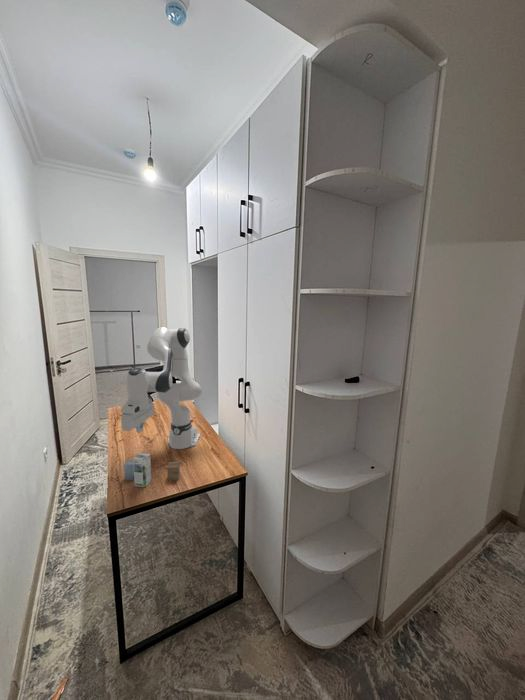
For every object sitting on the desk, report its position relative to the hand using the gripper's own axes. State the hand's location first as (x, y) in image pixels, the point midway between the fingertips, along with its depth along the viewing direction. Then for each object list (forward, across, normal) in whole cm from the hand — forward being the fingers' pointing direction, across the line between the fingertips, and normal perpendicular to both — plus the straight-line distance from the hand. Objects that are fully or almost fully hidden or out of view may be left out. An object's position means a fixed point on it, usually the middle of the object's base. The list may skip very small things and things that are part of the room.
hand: (140, 431), depth 136 cm
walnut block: (+27, -8, +12) cm, 31 cm away
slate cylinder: (+27, -3, -9) cm, 29 cm away
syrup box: (+27, 0, 0) cm, 27 cm away
